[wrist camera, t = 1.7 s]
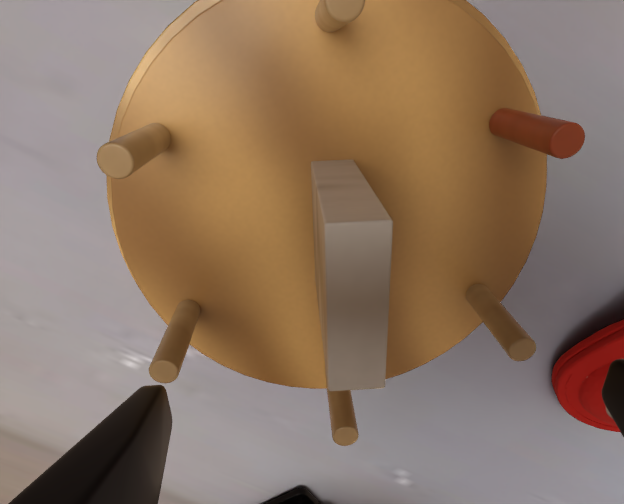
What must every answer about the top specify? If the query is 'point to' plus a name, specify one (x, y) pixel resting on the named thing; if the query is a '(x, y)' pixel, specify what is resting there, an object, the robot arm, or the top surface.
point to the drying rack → (330, 190)
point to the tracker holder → (589, 376)
